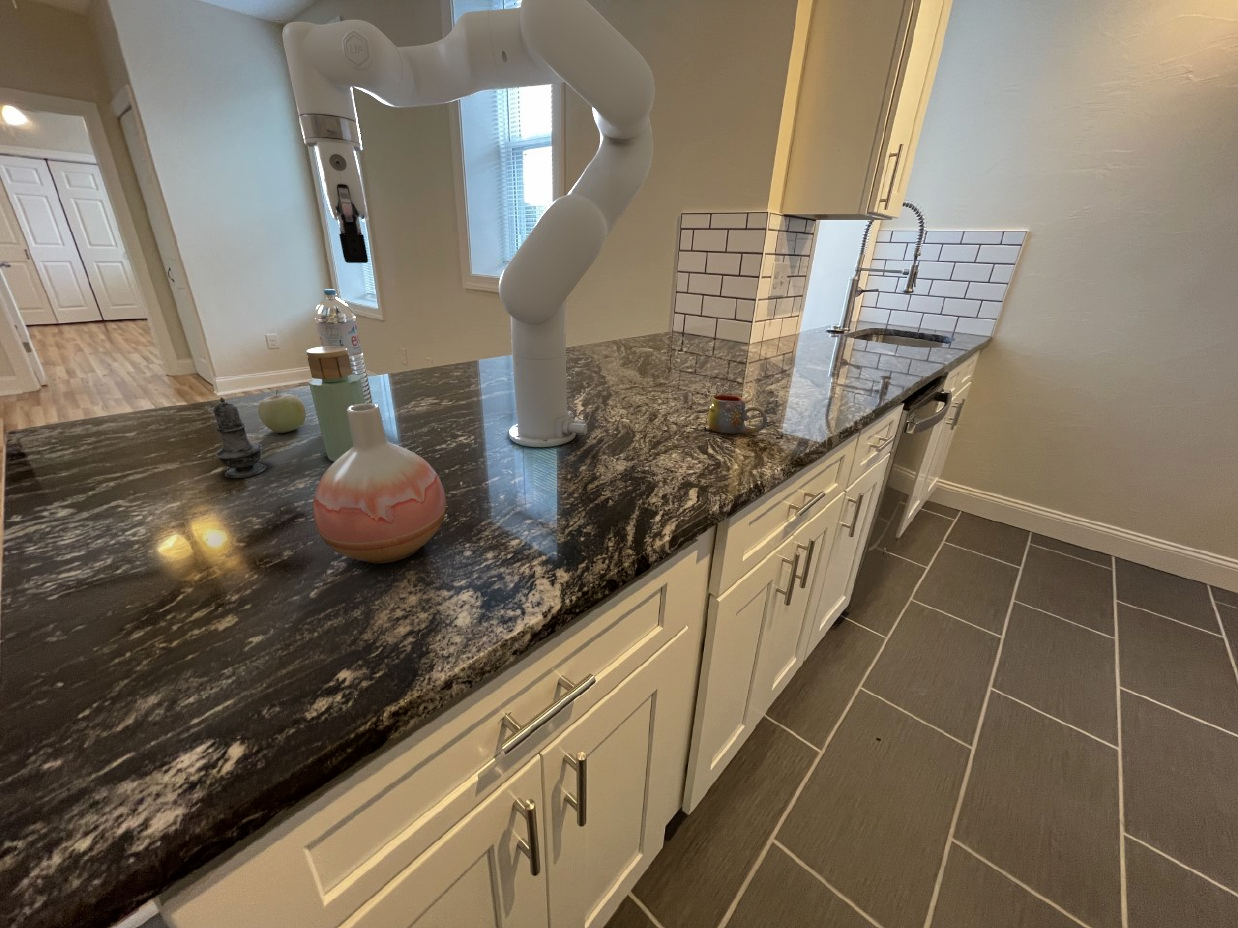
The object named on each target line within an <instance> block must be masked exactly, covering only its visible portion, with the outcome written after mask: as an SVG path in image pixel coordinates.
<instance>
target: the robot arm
mask: <svg viewBox="0 0 1238 928" xmlns="http://www.w3.org/2000/svg"><path fill="white" fill-rule="evenodd" d="M281 36H282V42H283V49H284V53H285V56H286V61H287V67H288V73H289V76H290V81H291V86H292V91H293V95H294V99H295V104H296V109H297V115H298V117H299V119H298V120H299V124H300V128H301V133H302V138H303V142H304V145H305V146H306V147H310V148H312V149H313V148H314V151H315V155H316V160H317V164H318V170H319V173H320V178H321V182H322V186H323V190H324V194H325V195H324V196H325V198H326V201H327V204H328V205H327V206H328V208H329V210H330V214H331V216H332V219H334V220H335V221H336V222H337V223H338V227H339V232H340V233H339V234H338V235H339V240H340V245H341V251H342V256H343V259H344V262H345V263H347V264H367V263H368V262H369V258H368V253H367V252H368V251H367V247H366V240H365V236H364V234H362V233H363V232H362V228H361V222H360V218H361V221H362V223H366V222H367V221H368V220H369V213H368V209H367V203H366V198H365V192H364V187H363V182H362V177H361V176H362V175H361V171H360V166H359V161H358V158H357V157H358V156H357V154H356V152H360V151H363V146H362V140H361V134H360V133H361V132H360V128H359V123H358V115H357V110H356V104H355V100H354V99H355V98H354V91H353V88H356V89H358V90H359V91H362V92H364V93H366V94H369V95H370V96H372V97H373V98H374V99H376V100H378V101H379V102H380V103H382V104H384V105H386V106H389V107H393V108H415V107H416V108H417V107H426V106H435V105H442V104H443V105H444V104H448V103H451V102H454V101H458V100H461V99H464V98H468V97H471V96H474V95H476V94H478V93H481V92H488V91H497V90H504V89H505V90H507V89H517V88H525V87H537V86H538V87H539V86H547V85H556V84H563V83H565V84H567V86H569V88H571V89H572V90H573V91H574V92H575V93H576V94H577V95H579V96H580V98H582V99H583V100H584V102H586V103H587V104H588V105H589V106H591V108H592V114H593V115H592V116H593V118H594V123H595V124H596V126H597V129H598V132H599V136H600V140H599V141H600V142H599V147H598V150H597V151H596V154H595V155H594V156H593V158H592V159H591V160H590V162H589V163H588V164H587V166H586V167H585V169H584V171H583V172H582V174H581V175H580V177H579V178H578V180H577V181H576V183H575V184H574V185H573V187H572V188H571V189H570V191H569V192H568V193H567V194H565V195H562V196H561V197H558V198H557V199H555V200H554V201H553V202H552V203H550V204H549V206H548V207H547V208H546V209H545V210H544V211H543V213H542V214H541V216H540V217H539V218H538V220H537V221H536V223H535V224H534V226H533V227H532V229H531V230H530V231H529V233H528V235H527V236H526V237H525V239H524V240H523V242H522V243H521V245H520V246H519V247H518V249H517V250H516V251H515V254H514V255H513V256H512V258H511V259H510V260H509V262H508V263H507V265H506V266H505V268H504V269H503V271H502V272H501V275H500V278H499V282H498V296H499V299H500V303H501V306H502V307H503V308H504V310H505V311H506V313H507V314H508V315H509V317H510V344H511V361H512V373H513V387H514V388H513V389H514V401H515V403H514V404H515V416H516V424H514V425H512V427H511V428H509V431H508V435H509V439H510V440H511V441H512V442H513V443H515V444H517V445H521V446H524V447H531V448H549V447H557V446H561V445H564V444H567V443H569V442H571V441H572V440H573V439H575V438H576V436H577V435H587V433H588V428H589V427H588V424H587V422H586V420H581V419H575V418H574V417H573V411H571V410H568V385H567V379H568V378H567V337H566V336H567V335H566V334H567V332H566V331H567V329H566V307H567V306H566V305H567V304H566V303H567V301H566V300H567V299H568V297H569V295H570V294H571V293H572V292H573V290H574V289H575V288H576V286H577V285H578V284H579V282H580V281H581V280H582V279H583V277H584V276H585V275H586V273H587V272H588V271H589V269H590V268H591V266H592V265H593V264H594V262H595V261H596V260H597V258H598V257H599V255H600V254H601V252H602V250H603V248H604V246H605V244H606V240H607V237H608V236H609V235H610V233H611V232H612V230H613V229H614V228H615V226H616V225H617V224H618V222H619V221H620V219H621V218H622V217H623V215H624V214H625V212H626V211H627V209H628V208H629V207H630V205H631V204H632V202H633V201H634V199H635V198H636V197H637V196H638V194H639V192H640V191H641V189H642V187H643V186H644V184H645V182H646V179H647V177H648V175H649V173H650V169H651V165H652V162H653V155H654V134H653V127H652V123H651V118H650V113H651V111H652V109H653V105H654V104H655V103H654V102H655V96H656V85H655V77H654V74H653V72H652V69H651V67H650V66H649V64H648V62H647V60H646V59H645V57H644V56H643V55H642V54H641V53H640V52H639V51H638V50H637V48H635V46H633V44H632V43H631V42H630V41H629V40H628V39H627V38H626V37H625V36H623V35H622V34H621V33H620V32H619V31H618V30H617V29H616V28H615V27H614V26H613V25H612V24H611V23H610V22H609V21H608V20H607V19H606V18H605V17H604V16H603V15H602V14H601V13H600V12H599V11H598V10H597V9H596V8H595V7H594V6H593V5H592V4H591V3H590V2H589V1H588V0H521V3H520V6H519V7H511V8H499V9H490V10H489V9H488V10H487V9H486V10H473V11H467V12H465V13H463V14H461V15H460V16H459V18H458V19H457V20H456V22H455V24H454V26H453V27H452V29H451V30H450V32H449V33H448V34H447V35H445V37H443V38H441V39H440V40H437V41H435V42H431V43H428V44H420V45H410V46H409V45H408V46H397V45H396V44H395V43H394V42H393V41H391V39H390V38H389V37H387V36H386V35H385V33H383V31H381V30H380V29H379V28H378V27H377V26H376V25H374V24H372V23H370V22H369V21H366V20H363V19H345V20H341V21H336V22H331V23H325V24H324V23H323V24H317V23H313V22H309V21H291V22H288V23H287V24H285V25H284V26H283V29H282V35H281Z"/></svg>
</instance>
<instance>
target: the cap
mask: <svg viewBox="0 0 1238 928" xmlns="http://www.w3.org/2000/svg"><path fill="white" fill-rule="evenodd" d="M305 352H306V356H307V357H306V358H307V363H308V367H309V371H310V374H311V378H312V379H314V378H317V379H334V378H340V377H341V378H342V377H346V376H349V375H352V368H351V364H350V359H349V354H348V350H347V348H346V347H342V346H325V347H322V346H317V347H312V348H309V349H307V350H306V351H305Z"/></svg>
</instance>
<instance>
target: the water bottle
mask: <svg viewBox="0 0 1238 928" xmlns="http://www.w3.org/2000/svg"><path fill="white" fill-rule="evenodd" d="M336 292H337V291H336V289H333V288H327V289H323V293H324V296H325V298H324V299H322V300H321V301H320V303H318V305H317V306H316V308H315V310H314V311H313V318H314V322H315V323H316V327H317V332H318V336H319V341H320V346H321V347H325V346H342V347H346V348H347V350H348V354H349V359H350V364H351V368H352V374H353V375H358V376H360V379H361V384H362V389H363V394H364V399H365V403H372V404H374V402H373V398H372V393H371V387H370V382H369V377H368V372H367V366H366V363H365V357H364V353H363V350H362V345H361V341H360V340H361V339H360V336H359V331H358V326H357V321H356V320H357V316H356V313H355V311H354V310H353V309H352V307H350V306H349V304H347V303H345V301H344V300H341V299H340V298H338V297H337V296H336V295H337V293H336Z"/></svg>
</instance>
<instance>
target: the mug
mask: <svg viewBox="0 0 1238 928" xmlns="http://www.w3.org/2000/svg"><path fill="white" fill-rule="evenodd" d="M708 409H709V410H708V413H707V426H706V430H707V431H713V432H715V433H720V434H728V435H729V434H730V435H731V434H745V435H747V434H749V435H750V434H756V433H759V432H761V431H763V430H764V428H765V427H766V426H767V423H768V416H767V414H766V411H764V410H763V409H762V408H761V407H760V406H750V407H748V408H746V401H745V400H744V399H743V398H742V397H741V396H739V395H732V394H731V395H730V394H714V395H712V396H711V404H710V406H709V408H708ZM752 411H756V412H758V413H759V414H760V415H761V417H762V422H761V423H760V424H759V425H757V427H747V426H746V424H745V422H746V421H749V420H750V415H749V414H748V413H749V412H752Z"/></svg>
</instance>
